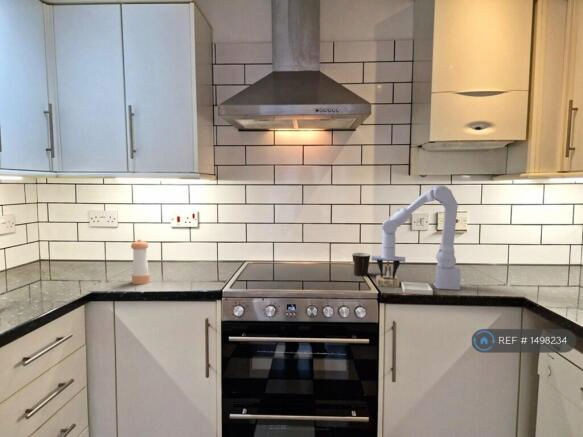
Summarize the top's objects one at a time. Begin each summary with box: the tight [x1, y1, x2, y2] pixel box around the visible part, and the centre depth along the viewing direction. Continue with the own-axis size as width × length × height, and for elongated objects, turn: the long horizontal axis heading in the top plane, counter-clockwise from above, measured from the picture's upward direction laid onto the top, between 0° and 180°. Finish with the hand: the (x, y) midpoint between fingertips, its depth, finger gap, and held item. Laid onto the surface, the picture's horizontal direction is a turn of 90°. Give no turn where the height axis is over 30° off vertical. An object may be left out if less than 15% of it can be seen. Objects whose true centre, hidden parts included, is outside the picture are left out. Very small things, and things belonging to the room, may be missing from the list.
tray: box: [400, 281, 434, 296], centre depth 155 cm, size 11×11×2 cm
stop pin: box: [384, 265, 392, 279], centre depth 165 cm, size 2×2×8 cm
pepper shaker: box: [130, 238, 151, 285], centre depth 164 cm, size 7×7×19 cm
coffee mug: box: [352, 252, 371, 277], centre depth 180 cm, size 12×9×10 cm
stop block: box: [376, 274, 400, 288], centre depth 165 cm, size 9×9×2 cm
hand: (387, 277), depth 165 cm, fingers open, 4 cm apart
